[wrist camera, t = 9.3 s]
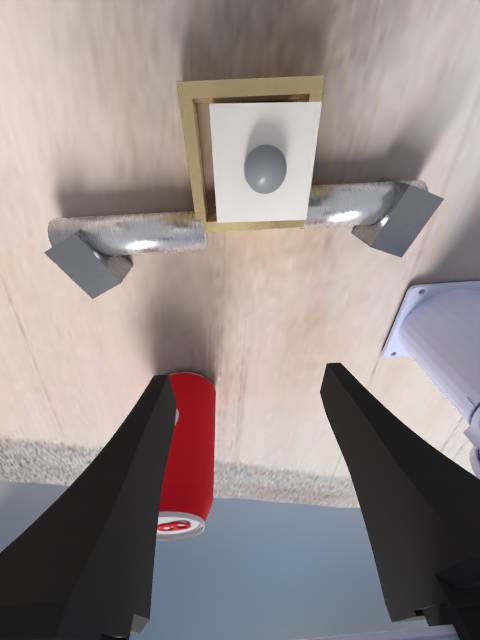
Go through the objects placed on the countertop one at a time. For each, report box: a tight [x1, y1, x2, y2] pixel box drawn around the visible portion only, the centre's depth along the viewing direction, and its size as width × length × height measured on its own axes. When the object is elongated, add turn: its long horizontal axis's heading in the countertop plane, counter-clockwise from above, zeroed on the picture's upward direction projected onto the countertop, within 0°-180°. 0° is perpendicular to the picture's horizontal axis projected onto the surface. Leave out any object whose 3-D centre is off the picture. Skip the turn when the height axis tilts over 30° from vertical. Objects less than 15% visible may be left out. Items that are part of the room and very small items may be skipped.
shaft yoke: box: [45, 75, 443, 299], centre depth 15 cm, size 23×10×3 cm, turn 92°
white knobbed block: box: [209, 102, 322, 223], centre depth 12 cm, size 4×4×7 cm
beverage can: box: [156, 372, 216, 540], centre depth 22 cm, size 6×6×12 cm
